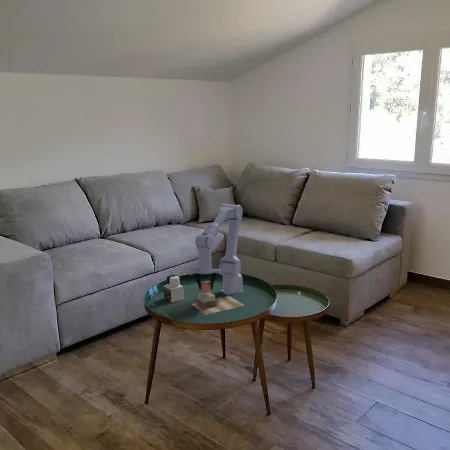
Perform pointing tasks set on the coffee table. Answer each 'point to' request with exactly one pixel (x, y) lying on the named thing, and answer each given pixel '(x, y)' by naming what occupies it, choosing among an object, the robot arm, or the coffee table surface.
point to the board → (220, 305)
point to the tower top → (206, 297)
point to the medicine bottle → (173, 289)
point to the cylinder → (205, 286)
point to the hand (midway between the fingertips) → (206, 289)
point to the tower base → (206, 304)
